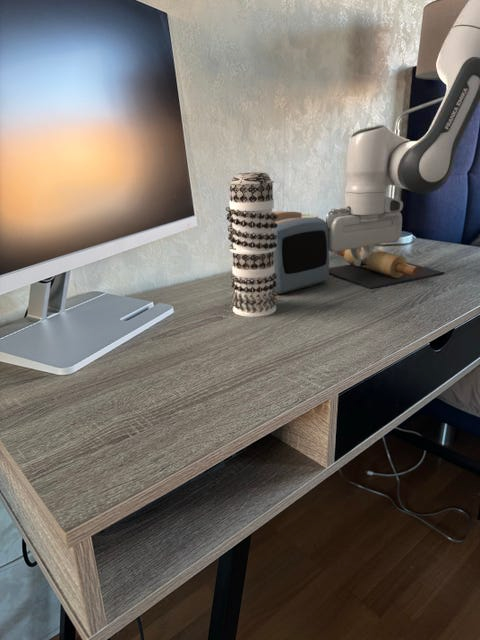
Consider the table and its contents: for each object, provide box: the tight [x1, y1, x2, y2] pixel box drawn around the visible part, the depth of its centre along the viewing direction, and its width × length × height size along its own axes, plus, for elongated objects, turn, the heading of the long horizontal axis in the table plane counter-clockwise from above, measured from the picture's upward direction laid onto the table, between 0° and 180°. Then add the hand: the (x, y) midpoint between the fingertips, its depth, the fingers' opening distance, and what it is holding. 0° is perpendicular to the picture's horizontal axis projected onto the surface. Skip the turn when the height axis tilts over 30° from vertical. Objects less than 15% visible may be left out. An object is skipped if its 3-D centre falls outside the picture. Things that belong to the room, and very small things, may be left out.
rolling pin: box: [336, 247, 420, 278], centre depth 106 cm, size 5×26×5 cm, turn 26°
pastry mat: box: [329, 262, 445, 290], centre depth 107 cm, size 22×18×1 cm
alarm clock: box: [272, 211, 330, 295], centre depth 99 cm, size 16×16×16 cm
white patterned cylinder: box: [225, 171, 278, 318], centre depth 81 cm, size 9×9×25 cm
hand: (361, 265), depth 104 cm, fingers closed
